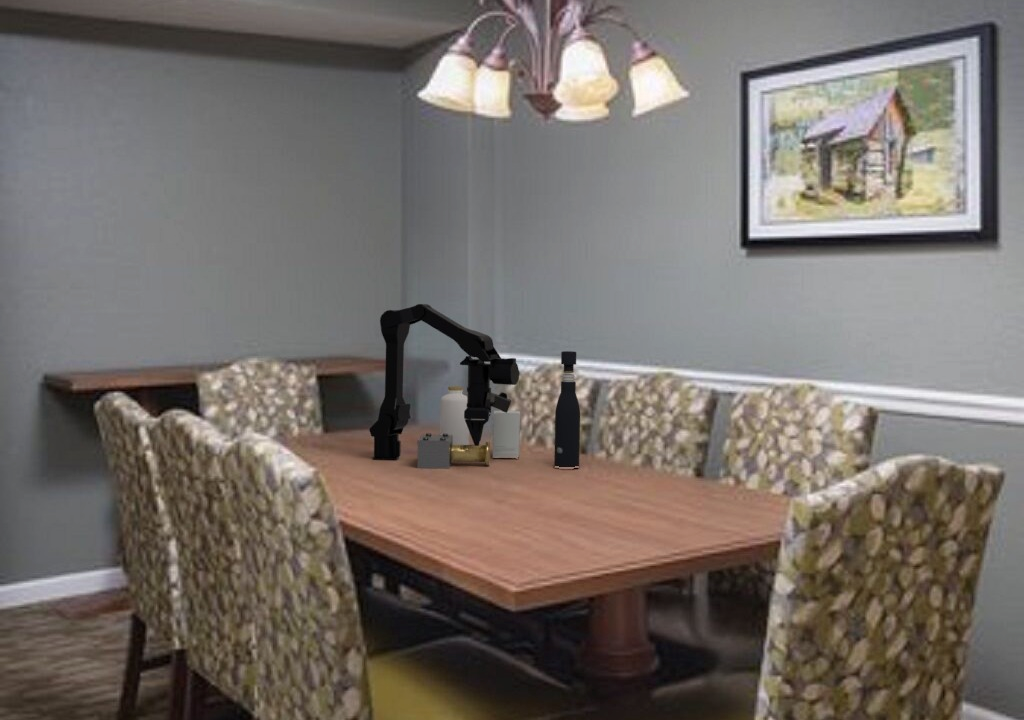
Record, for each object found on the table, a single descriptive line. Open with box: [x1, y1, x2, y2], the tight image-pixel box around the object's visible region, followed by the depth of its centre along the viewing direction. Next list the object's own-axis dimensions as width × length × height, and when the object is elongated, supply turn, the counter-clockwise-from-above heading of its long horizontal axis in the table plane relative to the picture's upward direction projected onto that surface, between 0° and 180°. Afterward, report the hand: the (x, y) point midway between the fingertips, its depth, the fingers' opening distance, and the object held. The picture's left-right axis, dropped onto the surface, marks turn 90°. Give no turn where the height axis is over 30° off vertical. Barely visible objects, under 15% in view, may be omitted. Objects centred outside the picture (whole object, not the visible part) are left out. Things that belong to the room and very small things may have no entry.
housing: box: [417, 432, 453, 469], centre depth 293 cm, size 8×12×8 cm, turn 179°
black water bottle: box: [553, 350, 581, 467], centre depth 290 cm, size 6×6×30 cm
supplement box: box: [492, 410, 521, 458], centre depth 308 cm, size 7×7×13 cm
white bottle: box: [439, 386, 470, 445], centre depth 321 cm, size 8×8×18 cm
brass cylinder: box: [450, 441, 491, 466], centre depth 292 cm, size 16×6×6 cm, turn 89°
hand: (477, 443), depth 292 cm, fingers open, 9 cm apart
